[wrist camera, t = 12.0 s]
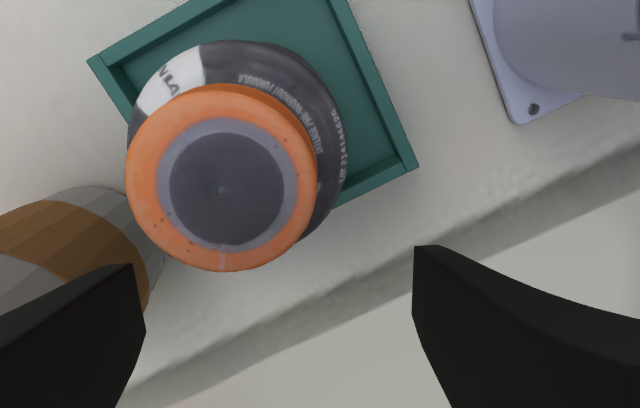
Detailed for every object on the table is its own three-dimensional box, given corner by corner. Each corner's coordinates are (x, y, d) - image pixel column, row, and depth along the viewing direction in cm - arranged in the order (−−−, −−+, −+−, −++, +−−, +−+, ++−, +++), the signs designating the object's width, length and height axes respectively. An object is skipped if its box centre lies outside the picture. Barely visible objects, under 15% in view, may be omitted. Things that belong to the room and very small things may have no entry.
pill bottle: (174, 71, 19) (4, 99, 8) (302, 21, 18) (305, -21, 7) (230, 194, 21) (155, 347, 10) (347, 151, 20) (400, 264, 9)
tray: (313, -60, 17) (315, -73, 16) (409, 156, 21) (420, 167, 19) (105, 59, 19) (84, 60, 17) (227, 246, 22) (221, 264, 20)
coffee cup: (82, 336, 23) (-251, 774, 9) (-21, 207, 21) (-720, 544, 6) (217, 276, 22) (78, 657, 8) (127, 133, 20) (-304, 337, 6)
